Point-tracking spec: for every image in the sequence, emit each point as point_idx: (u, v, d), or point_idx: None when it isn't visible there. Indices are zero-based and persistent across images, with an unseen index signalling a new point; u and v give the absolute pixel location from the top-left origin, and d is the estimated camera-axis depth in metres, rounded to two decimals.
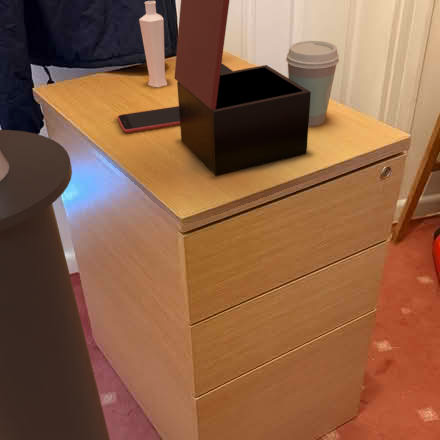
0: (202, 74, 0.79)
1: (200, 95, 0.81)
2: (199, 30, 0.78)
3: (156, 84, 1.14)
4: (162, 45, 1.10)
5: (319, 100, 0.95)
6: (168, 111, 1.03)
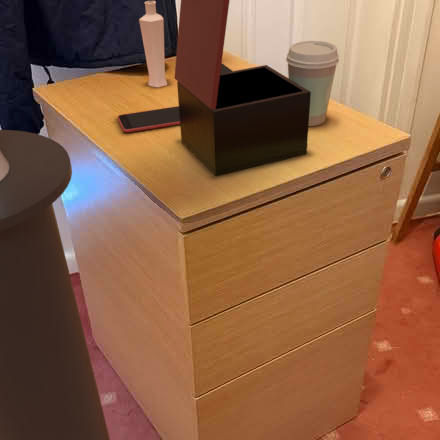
0: (202, 74, 0.79)
1: (200, 95, 0.81)
2: (199, 30, 0.78)
3: (156, 84, 1.14)
4: (162, 45, 1.10)
5: (319, 100, 0.95)
6: (168, 111, 1.03)
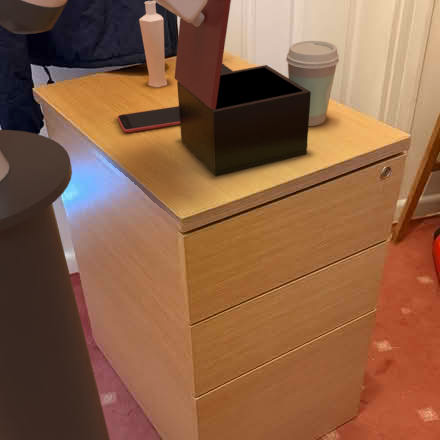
0: (202, 74, 0.79)
1: (200, 95, 0.81)
2: (200, 30, 0.78)
3: (156, 84, 1.14)
4: (162, 45, 1.10)
5: (319, 100, 0.95)
6: (168, 111, 1.03)
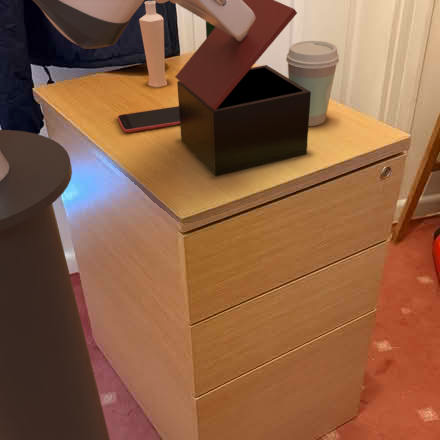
0: (216, 78, 0.81)
1: (203, 94, 0.81)
2: (233, 44, 0.81)
3: (156, 84, 1.14)
4: (162, 45, 1.10)
5: (319, 100, 0.95)
6: (168, 111, 1.03)
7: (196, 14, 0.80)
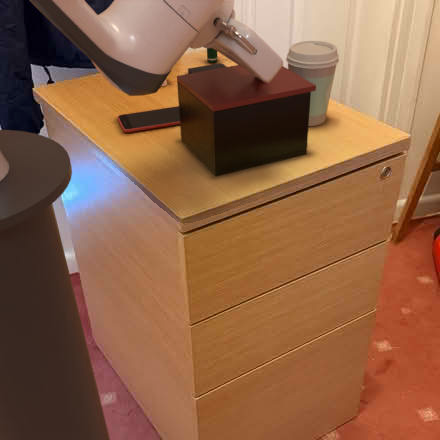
0: (224, 92, 0.82)
1: (206, 96, 0.81)
2: (248, 81, 0.86)
3: None
4: None
5: (319, 100, 0.95)
6: (168, 111, 1.03)
7: (224, 55, 0.85)
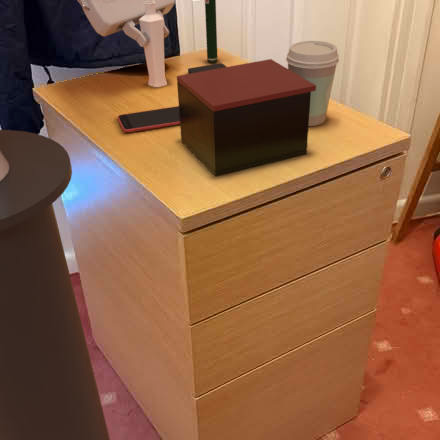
0: (224, 92, 0.82)
1: (206, 96, 0.81)
2: (248, 81, 0.86)
3: (156, 84, 1.14)
4: (162, 45, 1.10)
5: (319, 100, 0.95)
6: (168, 111, 1.03)
7: None
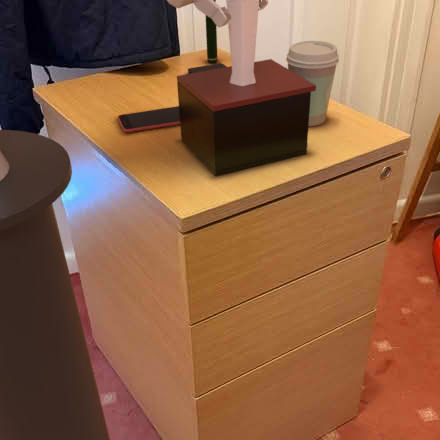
0: (224, 92, 0.82)
1: (206, 96, 0.81)
2: None
3: (242, 82, 0.84)
4: (254, 28, 0.80)
5: (319, 100, 0.95)
6: (168, 111, 1.03)
7: None
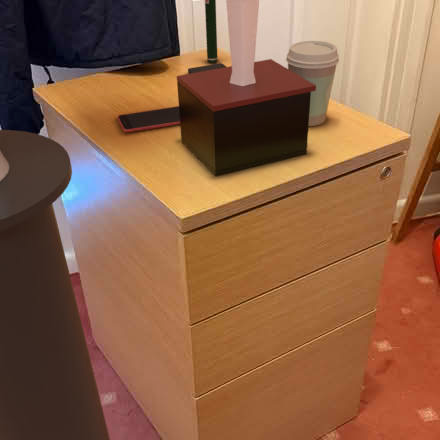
0: (224, 92, 0.82)
1: (206, 96, 0.81)
2: None
3: (242, 82, 0.84)
4: (254, 28, 0.80)
5: (319, 100, 0.95)
6: (168, 111, 1.03)
7: None
